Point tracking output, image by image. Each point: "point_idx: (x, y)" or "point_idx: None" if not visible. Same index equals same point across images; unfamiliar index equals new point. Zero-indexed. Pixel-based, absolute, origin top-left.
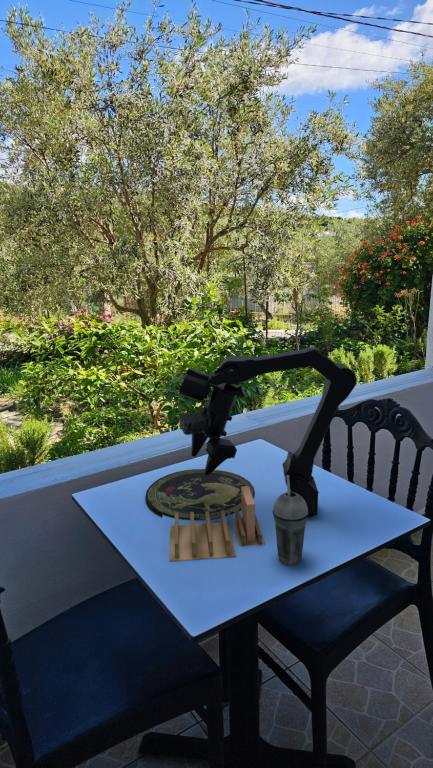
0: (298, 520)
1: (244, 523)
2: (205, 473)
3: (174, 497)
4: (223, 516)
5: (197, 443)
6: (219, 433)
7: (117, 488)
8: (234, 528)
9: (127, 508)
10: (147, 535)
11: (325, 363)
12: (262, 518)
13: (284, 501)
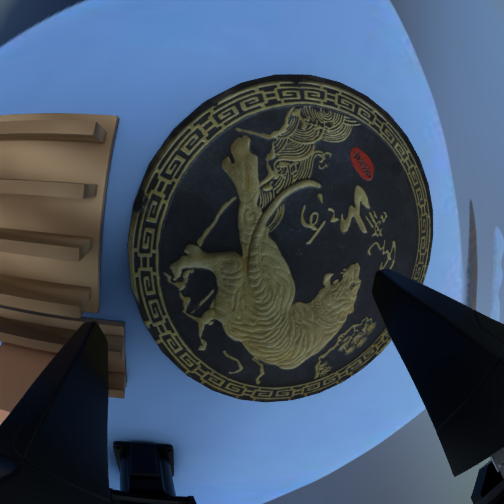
0: None
1: (38, 354)
2: (79, 329)
3: (307, 162)
4: (39, 306)
5: (440, 358)
6: None
7: (397, 51)
8: (67, 320)
9: (294, 30)
10: (114, 53)
11: None
12: (134, 395)
13: None
